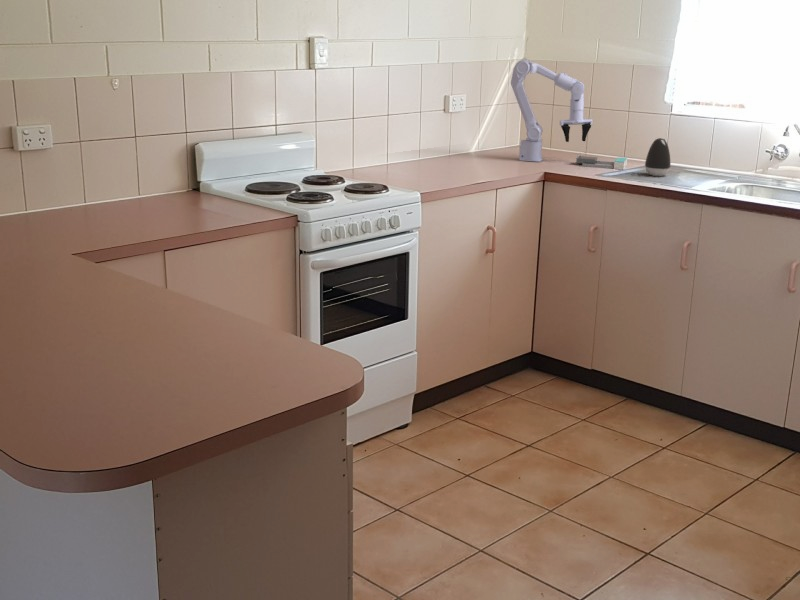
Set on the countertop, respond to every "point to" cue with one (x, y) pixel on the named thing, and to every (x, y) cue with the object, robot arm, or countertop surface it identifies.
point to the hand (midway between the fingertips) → (575, 141)
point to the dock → (609, 164)
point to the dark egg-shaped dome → (658, 158)
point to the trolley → (585, 159)
